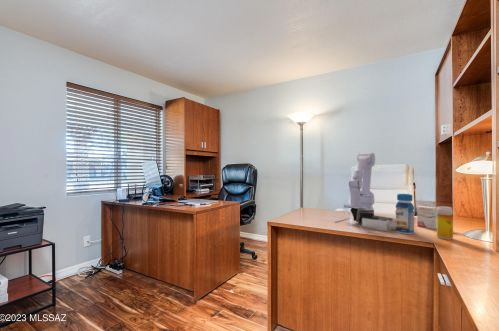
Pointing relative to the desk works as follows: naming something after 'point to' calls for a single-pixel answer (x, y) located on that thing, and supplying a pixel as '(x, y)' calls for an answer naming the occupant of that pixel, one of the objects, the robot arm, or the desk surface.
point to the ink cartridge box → (426, 214)
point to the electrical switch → (364, 215)
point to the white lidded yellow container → (444, 222)
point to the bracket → (379, 223)
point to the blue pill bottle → (404, 214)
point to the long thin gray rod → (342, 220)
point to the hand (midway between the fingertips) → (355, 220)
